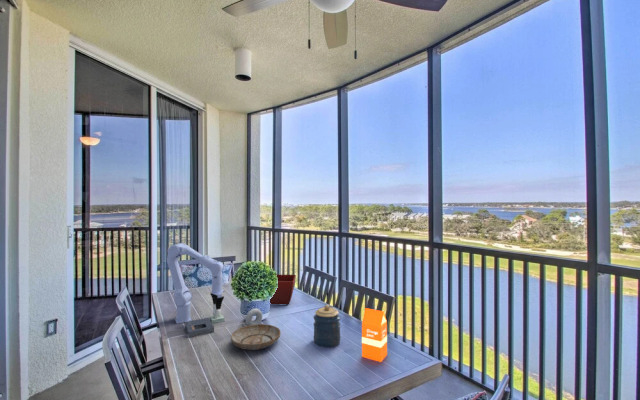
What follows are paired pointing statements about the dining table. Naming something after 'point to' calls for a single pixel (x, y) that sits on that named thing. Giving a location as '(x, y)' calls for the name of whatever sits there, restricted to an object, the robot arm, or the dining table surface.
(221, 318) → the pale green block
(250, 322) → the grey stone ring
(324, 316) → the canister
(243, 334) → the brown shallow round bowl
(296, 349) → the dining table surface
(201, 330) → the hole plate
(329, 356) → the dining table surface
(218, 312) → the barrel peg
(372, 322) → the orange juice
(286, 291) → the plant pot
